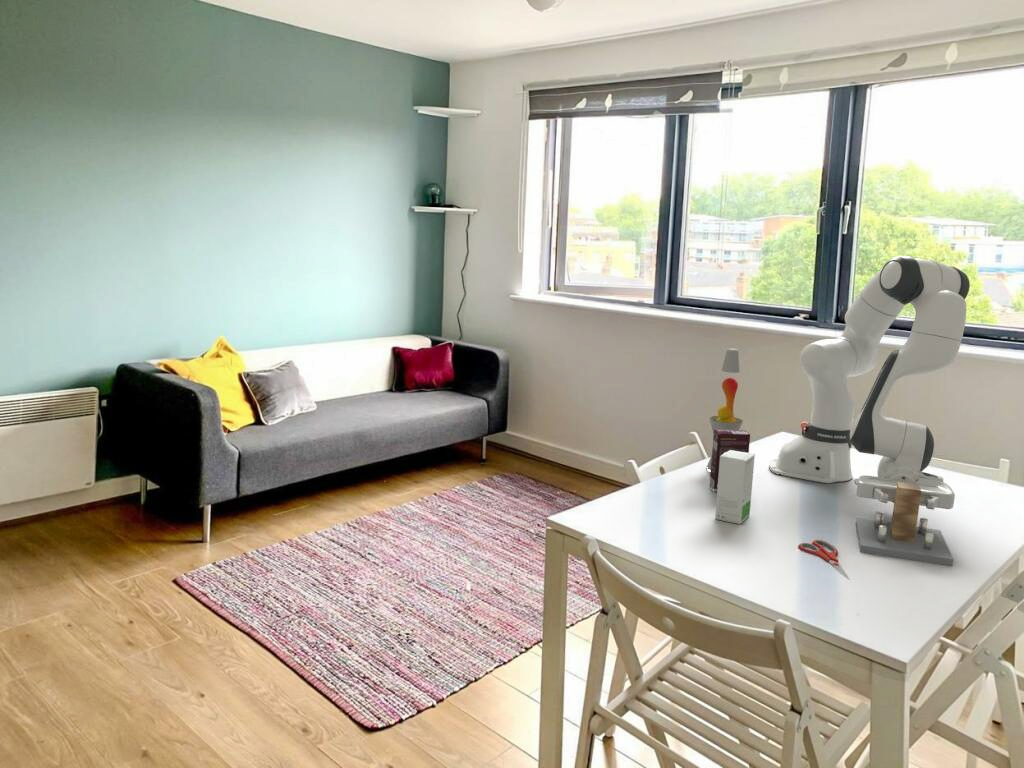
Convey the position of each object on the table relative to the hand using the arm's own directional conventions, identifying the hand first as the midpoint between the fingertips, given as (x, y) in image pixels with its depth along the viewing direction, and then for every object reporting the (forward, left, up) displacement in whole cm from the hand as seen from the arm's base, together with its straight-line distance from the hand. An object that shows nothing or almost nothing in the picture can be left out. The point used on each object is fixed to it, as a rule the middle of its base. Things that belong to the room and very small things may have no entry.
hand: (907, 502), depth 181 cm
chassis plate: (0, +1, -10) cm, 10 cm away
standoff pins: (0, +1, -8) cm, 9 cm away
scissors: (-14, -17, -11) cm, 24 cm away
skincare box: (-37, +2, -10) cm, 38 cm away
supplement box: (-40, +23, -10) cm, 47 cm away
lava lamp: (-43, +40, -10) cm, 60 cm away
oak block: (0, +1, -8) cm, 9 cm away
